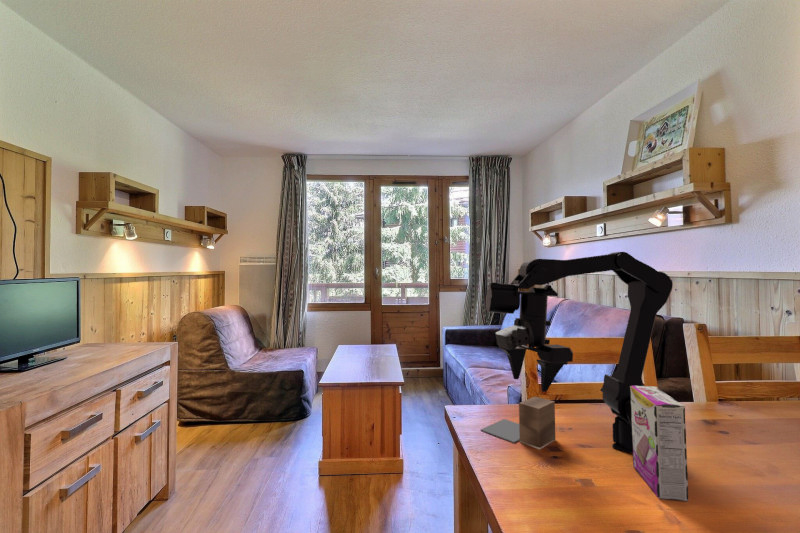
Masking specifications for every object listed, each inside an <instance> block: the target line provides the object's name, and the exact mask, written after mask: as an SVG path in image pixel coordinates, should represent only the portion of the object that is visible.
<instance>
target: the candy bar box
mask: <svg viewBox="0 0 800 533" xmlns="http://www.w3.org/2000/svg"><path fill="white" fill-rule="evenodd" d="M630 391H631V417H632V439H633V454H632V461H633V462H632V465H633V468H634V470H635V471H636V472H637V473H638V474H639V476H640V477H641V478H642V479H643V481H644V482H645V483H646V485H648V488H650V489H651V491H652V492H653V494H654V495H656V497H657V498H658V499H659V500H663V501H678V502H689V481H688V480H689V478H688V477H689V474H688V452H687V449H688V448H687V430H686V429H687V428H686V426H687V425H686V405H684V404H682V403H680V401H678V400H676V399H675V398H673V397H672V396H670V395H668V394H667V392H664V391H663V390H661V389H660V388H659V387H658V386H650V385H644V386H630Z"/></svg>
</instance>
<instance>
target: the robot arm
mask: <svg viewBox="0 0 800 533" xmlns="http://www.w3.org/2000/svg"><path fill="white" fill-rule="evenodd" d="M609 271H610V272H611V271H612V272H613V273H614V274H615V275H616V276H617V278H619V280H620V281H621V282H623V283H624V284H626V285H627V297H628V298H627V299H628V302H629V305H630V311H629V312H630V313H629V315H628V316H629V317H628V320H627V325H626V329H625V334H624V338H623V341H622V342H623V343H622V347H621V350H620V354H619V359H618V363H617V367H616V369H615V371H614V372H613V374H612V375H609V374H607V373H606V374H604V376H603V384H602V387H601V388H600V390H599V391H600V392H601V393H602V396H601V397H602V400H603V402H604V403H605V404H606V406H608V407H609V408H610V411H611V413H612V414H614V415H616V416H615V417H614V422H613V423H612V441H613V444H611V446H612V448H614V449H616V450H620V451H623V452H625V453H630V454H632V455H633V439H632V417H631V391H630V386H645V385H644V382H643V373H644V369H645V364H646V360H647V355H648V351H649V346H650V342H651V338H652V333H653V331H654V330H653V329H654V325H655V322H656V317H657V314H658V313H659V312H660V310H661V309H662V308H663V307H664V306H665V304H666V303H667V302H668V299H669V297H670V295H671V293H672V290H673V286H674V285H673V280H672V279H671V277H670V276H669V275H668V274H667V273H665V272H662V271H657V269H656V268H654V267H653V266H651V265H648V264H646V263H644V262H642V261H640V260H638V259H636V258H635V257H634V256H632V255H631V254H629V253H628V252H626V251H618V252H617V251H616V252H611V253H608V254H602V255H593V256H586V257H580V258H578V257H577V258H573V259H572V258H570V259H552V258H548V259H547V258H537V259H536V258H535V259H527V260H525V261H524V262H523V263H522V264H521V265H520V267H519V272H518V274H517V275H516V276H515V278H513V280H512V281H511V283H499V282H491V281H490V282H489V283H488V288H487V292H486V295H485V311H486V312H487V313H493V314H494V313H496V314H511V315H512V314H514V313H515V311H518V310H519V317H515V319H514V321H513V322H514V323H513V325H511V326H507V327H505V328H503V329H500V330H498V331H496V332H495V339H496V342H495V344H496V346H498V348H499V349H500V350H502V351H503V353H505V354H506V355H507V356H506V357H507V359H508V362H509V366H510V369H511V374H512V377H513V380H519V378H520V376H521V372H522V369H523V364H524V360H525V357H526V353H527V350H529V351H532V352H535V353H536V355H537V356H538V359H536V362H537V363H538V365H539V366H540V388H541V389H540V390H541V392H547V391H548V390H549V389H550V386H551V385H552V383H553V382H554V380H555V378H556V376H557V375H558V373H559V372H560V371H561V370H562V368H563V367H564V365H568V363H572V362H573V360H574V358H573V356H574V352H573V350H572V349H571V348H570V347H568V346H564V345H561V344H551V343H550V341H551V340H550V339H548V338H546V337H547V334H546V333H547V327H548V326H549V327H550V326H551V322H552V321H550V320H548V319H547V318H548V317H547V315H548V300H549V299H548V298H549V297H558V296H559V294H558V292H557V291H556V290H555V289H554V288H553V287H552V285H550V284H551V283H553V282H556V281H558V280H562V279H563V278H567V277H572V276H579V275H587V274H594V273H595V274H596V273H601V272H602V273H603V272H609ZM543 285H544V287H535V286H543ZM520 289H522V290H528V291H522V290H521V291H519V290H520Z"/></svg>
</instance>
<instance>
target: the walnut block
mask: <svg viewBox="0 0 800 533" xmlns="http://www.w3.org/2000/svg"><path fill="white" fill-rule="evenodd" d="M555 407H556V405H555V400H550V399H547V398H542V397H538V396H533V397H531V398H528V399H525V400H523V401H521V402H518V420H519V421H518V422H519V423H518V424H519V431H520V440H519V443H521V444H524V445H526V446H528V447H531V448H534V449H537V450H542V449H543V448H545V447H547V446H548V445H550V444H552V443H553V442H556V410H555V409H556V408H555Z"/></svg>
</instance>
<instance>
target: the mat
mask: <svg viewBox="0 0 800 533" xmlns="http://www.w3.org/2000/svg"><path fill="white" fill-rule="evenodd" d="M480 431H481V432H483V433H486V434H489V435H491V436H493V437H497V438H500V439H501V440H504V441H507V442H510V443H512V444H515V443H517V442H520V431H519V423H518V422H515V421H511V420H508V419H505V418H502V419H501V420H499V421H497V422H494V423H492V424H490V425H488V426H486V427H483V428H481V429H480Z"/></svg>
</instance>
